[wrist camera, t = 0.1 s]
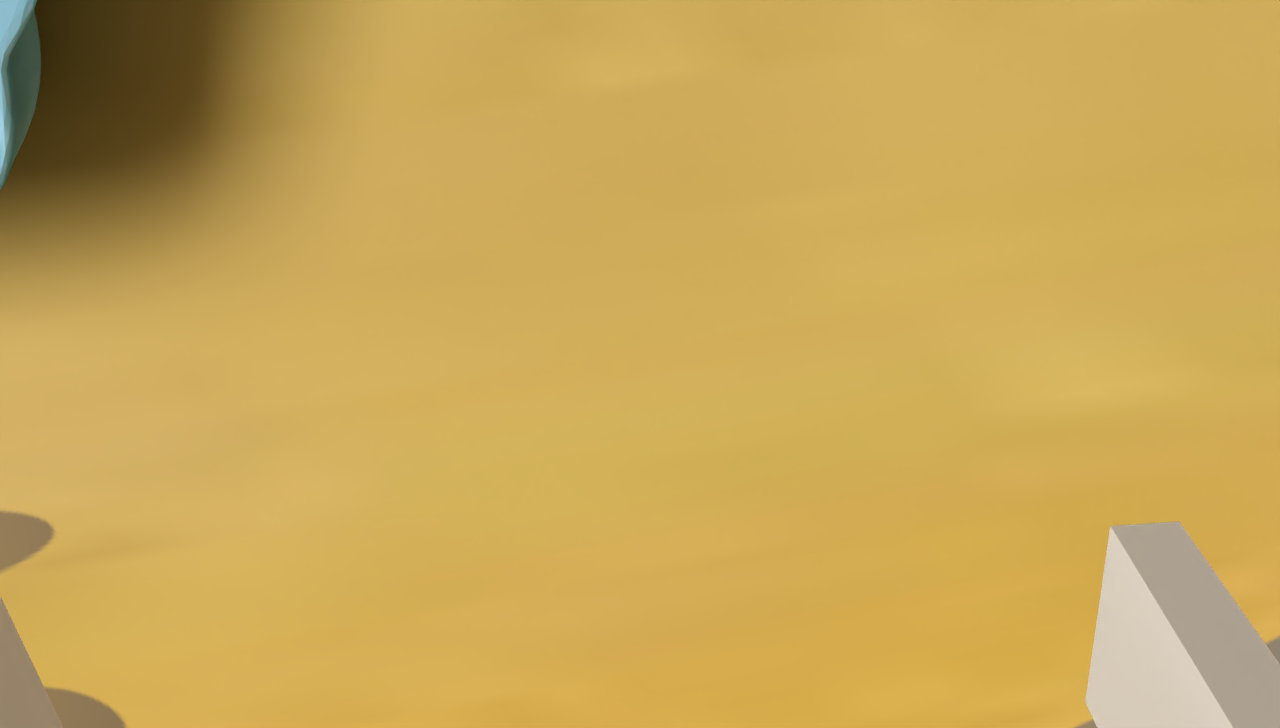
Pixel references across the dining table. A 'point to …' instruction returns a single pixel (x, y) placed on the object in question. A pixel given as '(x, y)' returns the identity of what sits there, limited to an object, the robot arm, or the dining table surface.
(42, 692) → the robot arm
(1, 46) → the casserole dish
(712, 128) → the dining table surface
